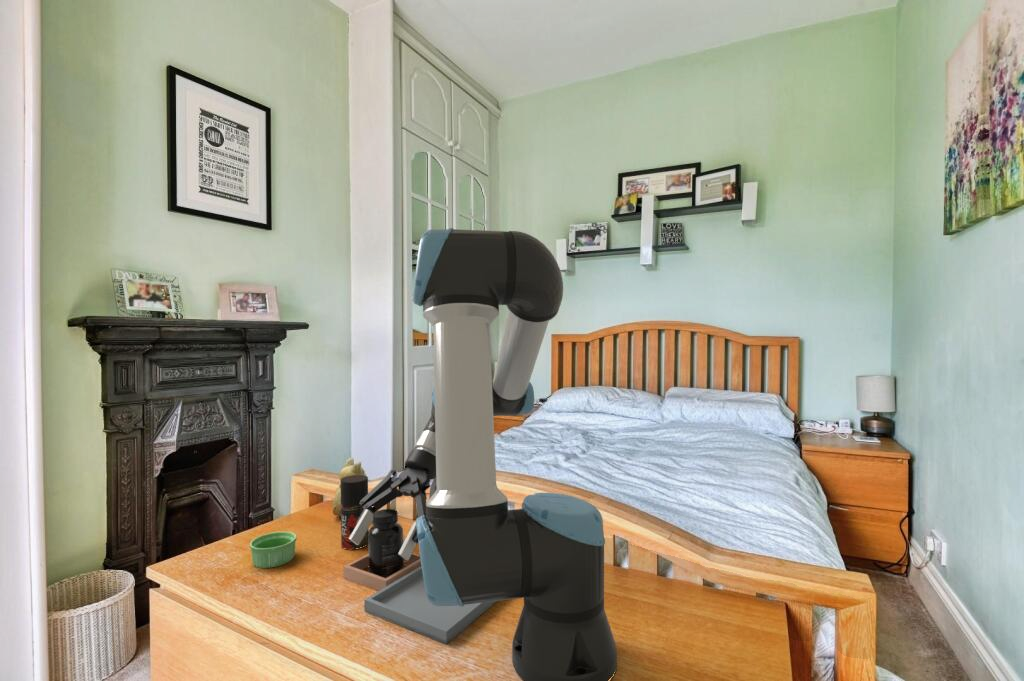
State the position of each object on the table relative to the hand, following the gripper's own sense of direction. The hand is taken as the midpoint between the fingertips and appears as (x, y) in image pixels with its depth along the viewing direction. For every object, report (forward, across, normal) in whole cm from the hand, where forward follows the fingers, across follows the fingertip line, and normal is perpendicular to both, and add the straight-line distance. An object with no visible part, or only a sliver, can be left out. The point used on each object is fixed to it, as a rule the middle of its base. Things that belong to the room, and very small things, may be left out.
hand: (377, 549), depth 97 cm
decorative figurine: (-10, +31, -18) cm, 37 cm away
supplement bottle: (+2, 0, -6) cm, 6 cm away
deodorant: (-2, +16, -10) cm, 19 cm away
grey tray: (+4, -16, -3) cm, 17 cm away
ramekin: (+8, +25, 0) cm, 26 cm away
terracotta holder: (+2, 0, -6) cm, 6 cm away
